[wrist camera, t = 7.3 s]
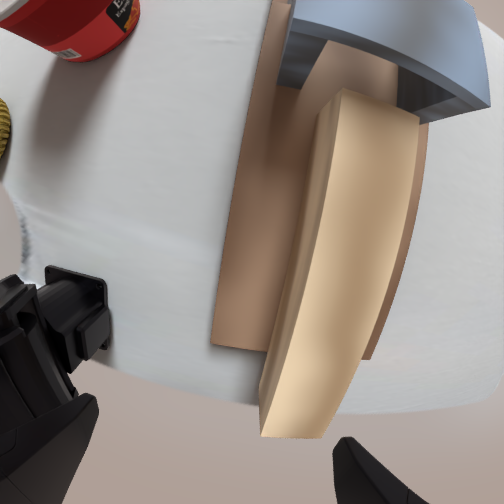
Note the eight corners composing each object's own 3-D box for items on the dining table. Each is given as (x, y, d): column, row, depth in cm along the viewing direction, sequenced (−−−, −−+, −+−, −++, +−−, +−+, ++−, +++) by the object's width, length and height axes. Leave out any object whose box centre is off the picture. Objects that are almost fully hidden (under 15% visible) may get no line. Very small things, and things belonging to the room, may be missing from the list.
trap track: (213, 328, 20) (190, 424, 11) (281, -30, 13) (293, -105, 4) (361, 346, 20) (409, 427, 11) (412, 12, 13) (467, -35, 4)
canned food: (152, 32, 14) (88, -52, 4) (68, 82, 15) (-25, 45, 4) (135, -17, 13) (87, -86, 2) (61, 28, 13) (-7, -14, 3)
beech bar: (258, 386, 19) (260, 436, 14) (316, 114, 14) (342, 87, 10) (309, 391, 19) (321, 438, 14) (376, 132, 15) (419, 117, 10)
